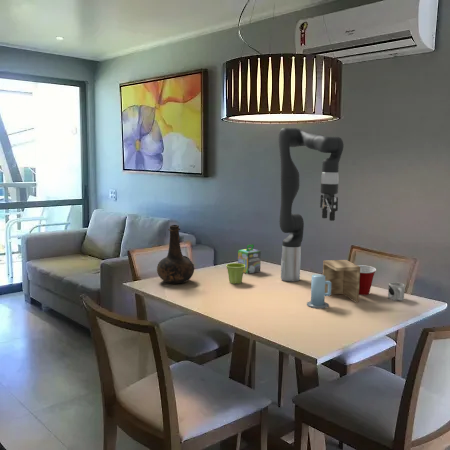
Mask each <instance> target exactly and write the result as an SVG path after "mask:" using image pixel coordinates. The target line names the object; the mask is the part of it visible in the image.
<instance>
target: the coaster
mask: <svg viewBox="0 0 450 450" xmlns="http://www.w3.org/2000/svg"><path fill="white" fill-rule="evenodd" d="M306 306H307V307H309V308H310V309H311V308H312V309H317V310H318V309H321V310H322V309H327V308H328V307H330V305H329V303H328V302H326V301H324V305H323V306H314V305H312V304H311V300H310V301H309V300H308V301H307V302H306Z"/></svg>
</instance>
